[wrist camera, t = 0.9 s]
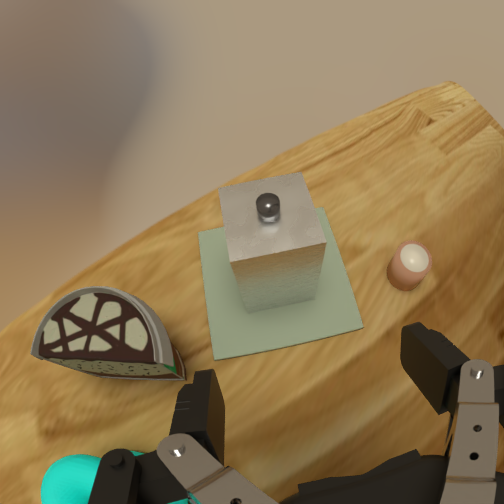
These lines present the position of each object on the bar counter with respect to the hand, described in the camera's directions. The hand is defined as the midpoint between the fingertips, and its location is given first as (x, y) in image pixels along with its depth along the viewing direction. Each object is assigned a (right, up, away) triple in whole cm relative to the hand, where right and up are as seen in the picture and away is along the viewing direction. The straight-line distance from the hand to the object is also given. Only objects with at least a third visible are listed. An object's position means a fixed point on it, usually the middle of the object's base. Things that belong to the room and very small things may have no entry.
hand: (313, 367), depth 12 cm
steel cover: (0, +2, +19) cm, 19 cm away
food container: (-13, -5, +17) cm, 22 cm away
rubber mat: (0, +2, +19) cm, 19 cm away
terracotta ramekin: (+13, +2, +18) cm, 22 cm away
